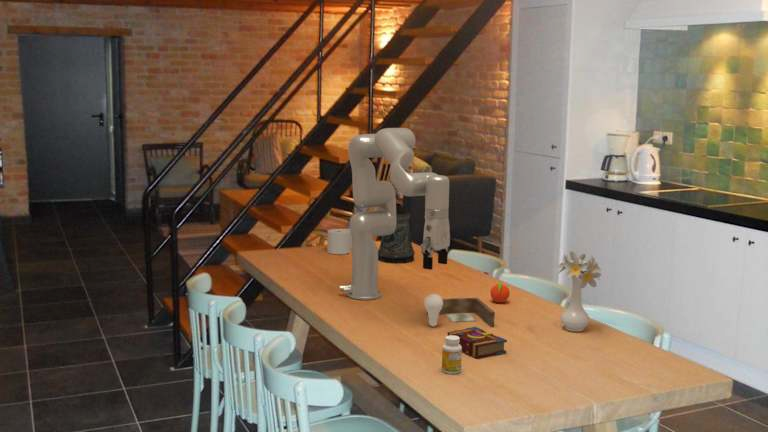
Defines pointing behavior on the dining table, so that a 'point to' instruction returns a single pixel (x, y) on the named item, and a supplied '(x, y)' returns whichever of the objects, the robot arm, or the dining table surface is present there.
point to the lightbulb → (433, 308)
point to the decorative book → (479, 342)
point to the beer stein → (397, 241)
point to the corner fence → (467, 310)
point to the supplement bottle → (451, 355)
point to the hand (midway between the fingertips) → (435, 266)
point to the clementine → (500, 293)
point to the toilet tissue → (339, 241)
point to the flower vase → (578, 289)
